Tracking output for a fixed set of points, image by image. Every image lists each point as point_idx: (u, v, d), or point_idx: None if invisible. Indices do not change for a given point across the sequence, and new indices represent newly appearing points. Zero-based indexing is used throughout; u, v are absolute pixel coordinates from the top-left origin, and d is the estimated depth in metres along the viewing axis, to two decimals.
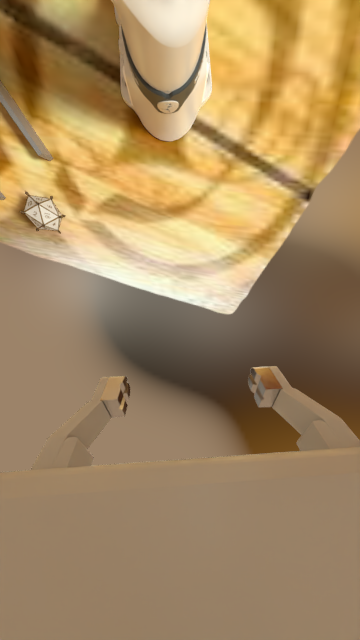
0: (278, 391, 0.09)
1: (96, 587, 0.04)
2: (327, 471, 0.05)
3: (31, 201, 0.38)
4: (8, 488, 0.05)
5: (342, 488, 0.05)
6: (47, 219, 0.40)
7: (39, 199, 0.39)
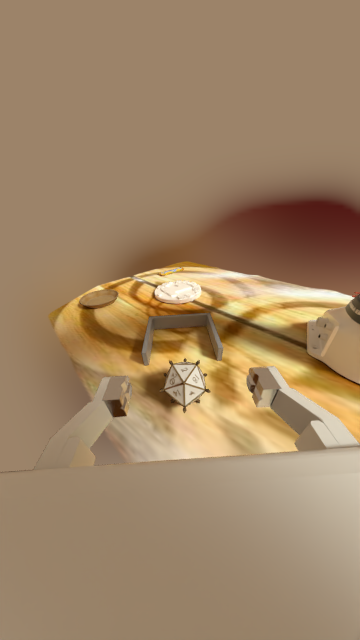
0: (276, 391, 0.09)
1: (96, 587, 0.04)
2: (327, 471, 0.05)
3: (187, 363, 0.30)
4: (7, 488, 0.05)
5: (342, 488, 0.05)
6: (192, 381, 0.26)
7: None
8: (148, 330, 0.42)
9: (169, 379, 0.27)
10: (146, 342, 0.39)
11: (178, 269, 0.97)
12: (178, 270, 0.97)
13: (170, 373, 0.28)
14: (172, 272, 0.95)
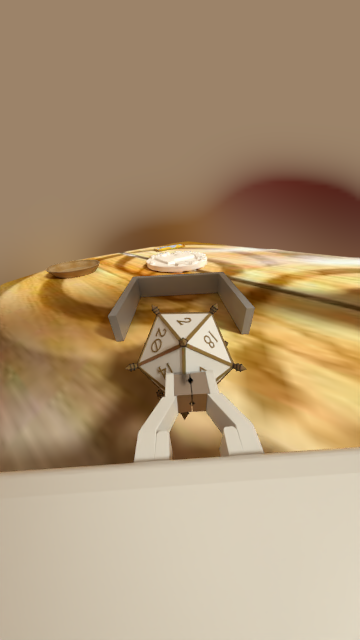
0: (206, 396, 0.09)
1: (96, 587, 0.04)
2: (327, 471, 0.05)
3: None
4: (7, 488, 0.05)
5: (342, 488, 0.05)
6: (204, 344, 0.11)
7: None
8: (128, 289, 0.27)
9: (150, 342, 0.12)
10: (120, 302, 0.23)
11: (178, 245, 0.82)
12: (178, 246, 0.81)
13: (153, 330, 0.13)
14: (170, 248, 0.79)
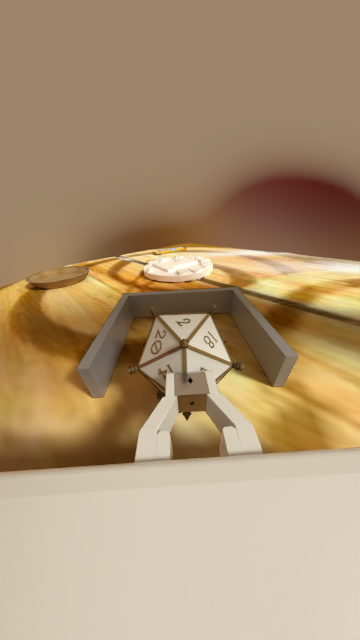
0: (205, 396, 0.09)
1: (96, 586, 0.04)
2: (327, 471, 0.05)
3: None
4: (7, 488, 0.05)
5: (342, 488, 0.05)
6: (204, 345, 0.11)
7: None
8: (113, 315, 0.20)
9: (150, 344, 0.12)
10: (100, 340, 0.16)
11: (179, 248, 0.75)
12: (179, 249, 0.75)
13: (152, 332, 0.13)
14: (171, 251, 0.73)
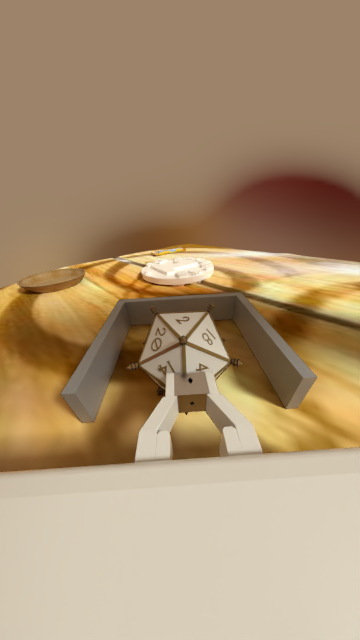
0: (205, 396, 0.09)
1: (96, 587, 0.04)
2: (327, 471, 0.05)
3: None
4: (8, 487, 0.05)
5: (342, 488, 0.05)
6: (203, 342, 0.11)
7: None
8: (107, 326, 0.18)
9: (150, 342, 0.12)
10: (90, 357, 0.14)
11: (178, 249, 0.73)
12: (178, 250, 0.73)
13: (152, 330, 0.13)
14: (170, 252, 0.71)
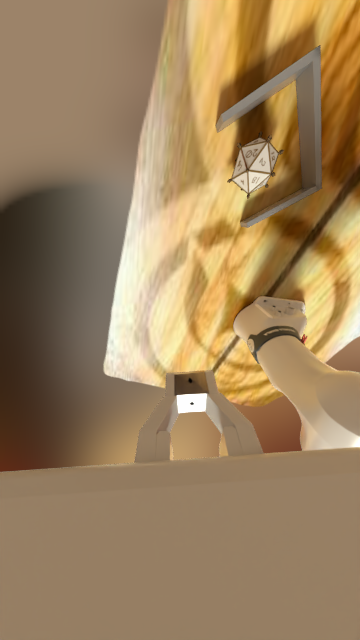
0: (205, 396, 0.09)
1: (96, 587, 0.04)
2: (327, 471, 0.05)
3: (274, 159, 0.28)
4: (7, 488, 0.05)
5: (342, 488, 0.05)
6: (251, 178, 0.29)
7: None
8: (272, 84, 0.25)
9: (250, 148, 0.27)
10: (242, 105, 0.26)
11: None
12: None
13: (257, 145, 0.27)
14: None
